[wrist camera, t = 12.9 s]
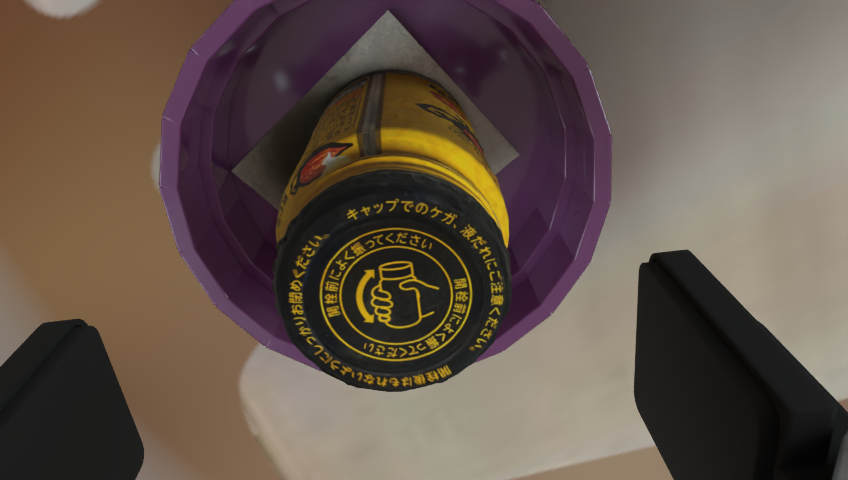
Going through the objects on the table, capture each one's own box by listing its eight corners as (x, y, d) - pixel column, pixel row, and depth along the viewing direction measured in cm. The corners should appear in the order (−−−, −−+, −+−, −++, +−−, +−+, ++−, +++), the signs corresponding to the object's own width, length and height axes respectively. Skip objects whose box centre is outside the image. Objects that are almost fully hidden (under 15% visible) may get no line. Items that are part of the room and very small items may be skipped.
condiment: (519, 153, 24) (617, 304, 13) (366, 286, 27) (343, 512, 16) (388, 9, 22) (377, 50, 11) (233, 168, 24) (94, 334, 13)
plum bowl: (160, -22, 22) (96, -19, 17) (569, -72, 22) (615, -82, 17) (251, 328, 28) (221, 400, 23) (574, 291, 27) (609, 356, 23)
